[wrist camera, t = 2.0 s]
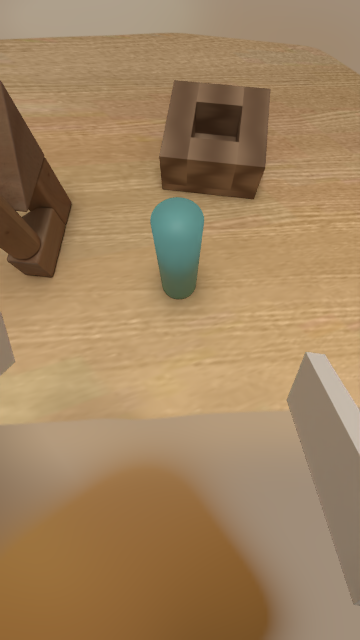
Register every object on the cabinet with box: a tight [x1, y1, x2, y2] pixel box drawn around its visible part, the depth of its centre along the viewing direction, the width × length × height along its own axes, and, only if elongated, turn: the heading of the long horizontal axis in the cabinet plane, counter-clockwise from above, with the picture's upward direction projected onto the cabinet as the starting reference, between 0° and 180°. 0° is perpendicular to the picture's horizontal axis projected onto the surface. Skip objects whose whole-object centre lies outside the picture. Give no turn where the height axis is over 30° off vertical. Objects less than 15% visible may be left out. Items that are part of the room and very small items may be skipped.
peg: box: [151, 197, 204, 299], centre depth 25 cm, size 4×4×12 cm
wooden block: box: [0, 81, 71, 277], centre depth 24 cm, size 4×11×18 cm, turn 174°
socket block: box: [159, 80, 270, 199], centre depth 34 cm, size 12×12×5 cm
